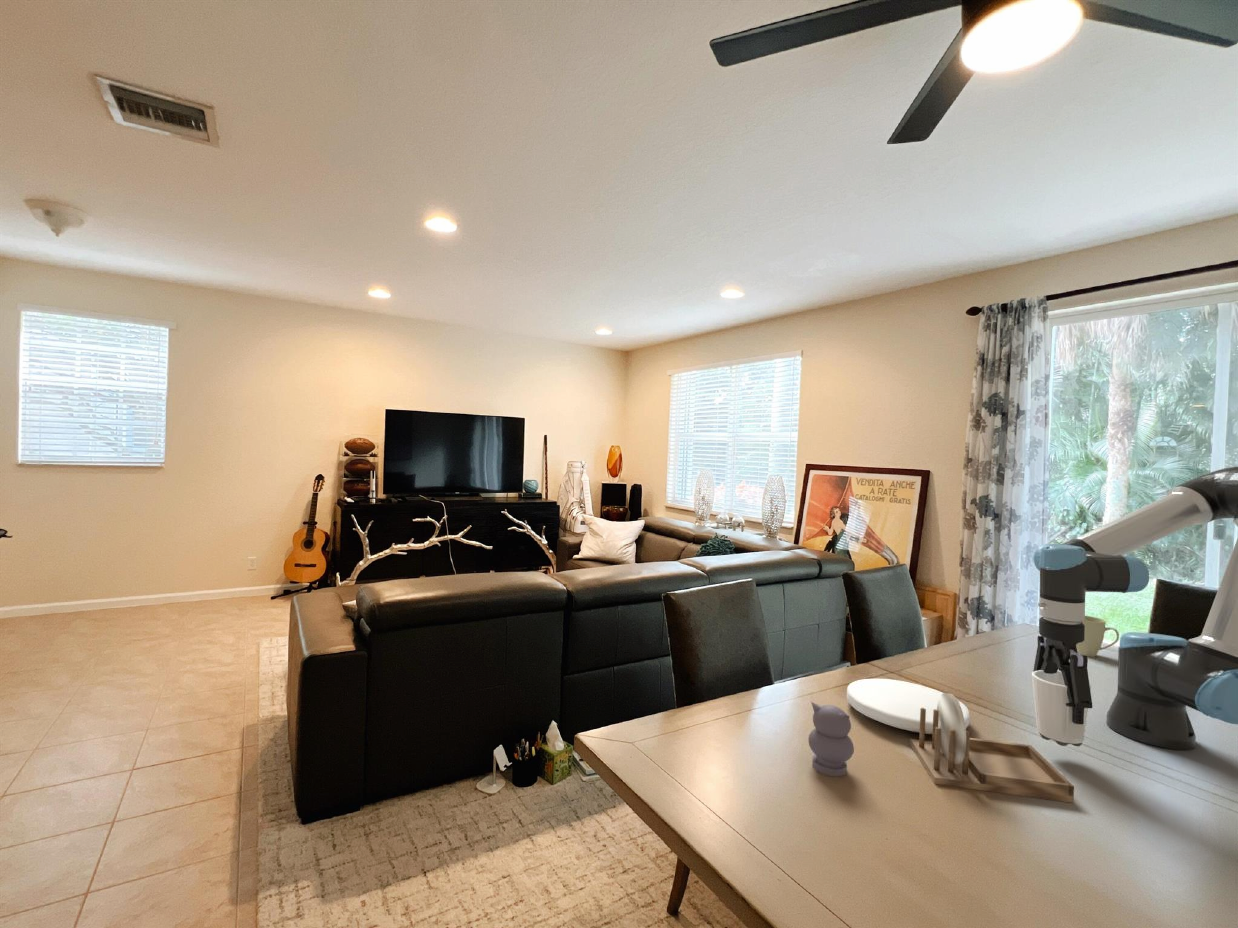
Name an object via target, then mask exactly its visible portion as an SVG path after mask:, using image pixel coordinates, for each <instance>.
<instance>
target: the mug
mask: <svg viewBox="0 0 1238 928" xmlns="http://www.w3.org/2000/svg"><path fill="white" fill-rule="evenodd" d="M1106 622H1107V621H1106V620H1104V619H1102V618H1099V617H1095V616H1090V615H1085V621H1083V622H1082V623H1083V624H1084V625H1085V639H1084V641H1083V642H1081V643H1078V644H1077V645H1076V647H1077V651H1078V654H1079V655H1084V656H1087V657H1089V656H1090V657H1091V658H1095V656H1096V657H1097V654H1098V653H1099V651H1102V650H1104V649H1105V650H1106V649H1108V648H1110V647H1112V646H1114V645H1116V643H1117V642H1118V641H1119V640H1120V639H1119V638H1120V633H1119V631H1118V630H1117V629H1116V628H1115V627H1106ZM1110 630H1112V631H1114V632H1115V634H1116V639H1115V640H1114V641H1113V642H1112V643H1110V644H1108V645H1106V646H1104V647H1102V644H1103V641H1104V638H1105V633H1106V632H1108V631H1110Z"/></svg>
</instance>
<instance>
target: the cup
mask: <svg viewBox="0 0 1238 928" xmlns="http://www.w3.org/2000/svg"><path fill="white" fill-rule="evenodd" d="M1031 681H1032V682H1031V684H1032V693H1033V701H1034V711H1035V720H1036V722H1035V723H1036V730H1037V733H1038V734H1039V735H1040V737H1041V738H1042V739H1043V740H1045V741H1046V740H1047V741H1049V740H1052V741H1054V742H1056V744H1057V745H1059V746H1060V747H1066V746H1068V745H1073V746H1075V747H1081V746H1082V745H1083V742H1084V740H1083V739H1072V738H1067V737H1066V703H1069V699H1068V695H1067V686H1065V684H1064V680H1063V676H1062V672H1061V671H1059V670H1057V673H1053V674H1048V673H1044V671H1043V670H1038V671H1034V672H1033V671H1032V672H1031ZM1089 685H1090V691H1091V690H1092V689H1091V688H1092V683H1091V682H1089ZM1088 711H1089V708H1085V709H1084V734H1085V732H1086V725H1087V717H1088Z"/></svg>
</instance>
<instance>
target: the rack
mask: <svg viewBox="0 0 1238 928" xmlns="http://www.w3.org/2000/svg"><path fill="white" fill-rule="evenodd" d="M942 693H943V694H942V695H941V696H940V698H939V701H938V705H937V710H936V709H934V710H933V734H931V735H932V737H931V738H932V740H925V739H926V734H925V720H926V709H925V708H921V709H920V733H919V732H918V733H919V735H918V736H919V737H918V738H919V739H914V738H910V739H909V745H910V747H911V748H912V750H913V752H914V753H915V755H916V756H917V758H918V759H919V761H920V762H921V764H922V765H923V767H924V769H925V771H926V772H927V774H928V775H929V777H930V778H931V780H932V782H933V783H934V784H935V785H942V786H948V787H956V788H963V789H969V790H976V791H977V790H978V791H984V792H985V791H986V792H990V793H991V792H992V793H1000V794H1007V795H1013V796H1022V797H1028V798H1035V799H1042V800H1050V801H1057V802H1064V803H1065V802H1066V803H1074V801H1075V800H1074V797H1075V786H1074V785H1073V784H1072V783H1071V782H1070V781H1069V780H1068V779H1067V778H1066V777H1065V776H1064V775H1063V774H1062V773H1061V772H1060V771H1059V770H1058V769H1056V768H1055V767H1054V766H1053V765H1052V764H1051V763H1050V762H1049V761H1048V760H1047V759H1046V758H1045V757H1044V756H1043V755H1042V754H1041V753H1039V752H1038V751H1037V750H1036V749H1035V748H1034V747H1033V745H1031V744H1023V743H1016V742H1008V741H1007V742H1006V741H999V740H991V739H990V740H989V739H984V738H983V739H981V738H974V737H973V738H972V737H971V734H970V732H971V731H968V730H967V728H966V727H965V721H964V716H963V712H962V709H961V706H960V704H959V702H958V701H959V700H958V699H957V697H956V696H955V695H954V694H952V693H949V692H947V693H946V692H942Z"/></svg>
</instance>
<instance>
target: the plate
mask: <svg viewBox="0 0 1238 928" xmlns="http://www.w3.org/2000/svg"><path fill="white" fill-rule="evenodd" d="M943 693H944V692H942V691H940V690H938V689H937V690H936V689H934V688H931V687H927V686H923V685H921V684H917V683H912V682H908V681H903V680H898V679H889V678H864V679H863V678H862V679H858V680H855V681H853V682H850V683H849V685H847V689H846V700H847V702H848V703H849V705H850V706H851V707H853V708H854V710H856V711H857V712H859V713H861V714H862V715H863V716H866V717H868V718H869V719H872V720H875V721H876V722H877V721H878V722H879V723H882V724H884V725H888V726H890V727H894V728H896V729H901V730H906V731H908V732H909V731H910V732H913V733H920V709H921V708H925V709H926V720H925V735H932V734H933V710H934V709H936V710H937V705H938V701H939V698H940V696H941V695H942V694H943ZM958 702H959V704H960V706H961V709H962V712H963V716H964V721H965V727H966V729H967V728H968V727H969V725H970V720H971V716H970V712H969V709H968V707H967V706H966V705H965V704H964V703H963V702H961V701H960V700H958Z"/></svg>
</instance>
